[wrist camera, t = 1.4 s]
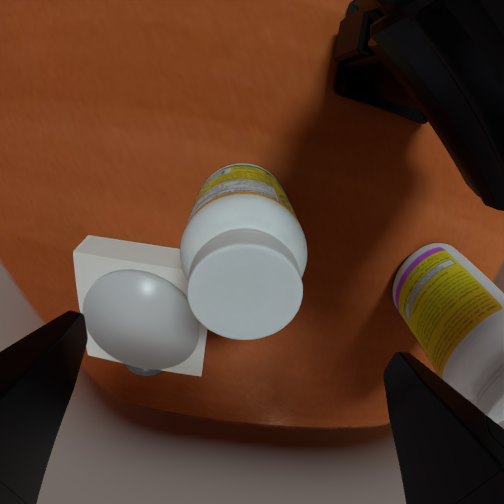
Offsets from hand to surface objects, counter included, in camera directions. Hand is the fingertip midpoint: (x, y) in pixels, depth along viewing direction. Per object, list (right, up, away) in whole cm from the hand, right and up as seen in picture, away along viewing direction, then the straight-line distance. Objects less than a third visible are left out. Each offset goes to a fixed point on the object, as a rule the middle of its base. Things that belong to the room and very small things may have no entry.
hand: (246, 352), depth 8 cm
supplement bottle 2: (+14, +1, +14) cm, 20 cm away
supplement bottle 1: (0, +6, +11) cm, 13 cm away
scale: (-7, -1, +14) cm, 16 cm away
